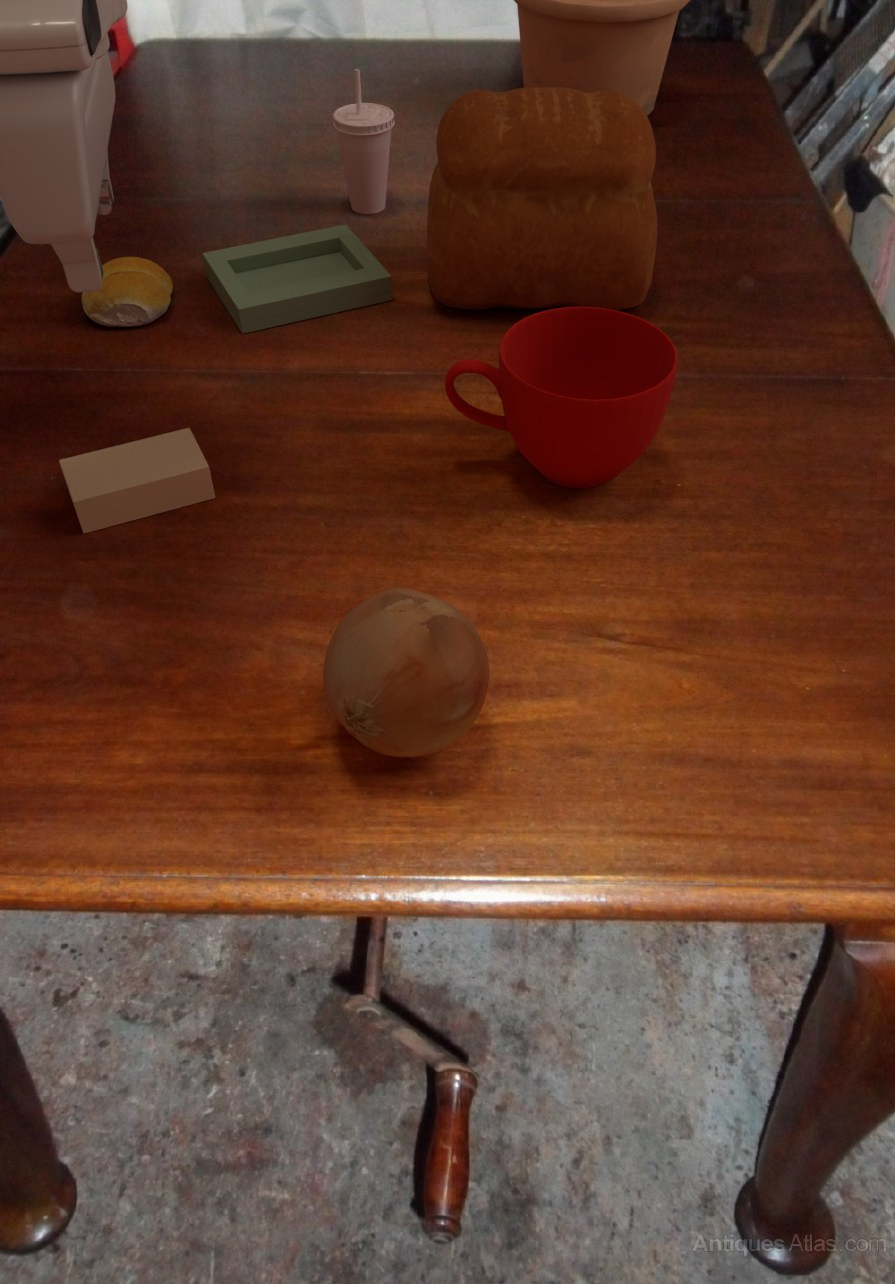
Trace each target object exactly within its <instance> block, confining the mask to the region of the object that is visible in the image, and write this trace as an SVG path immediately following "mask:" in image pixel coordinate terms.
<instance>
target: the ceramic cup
mask: <svg viewBox="0 0 895 1284" xmlns="http://www.w3.org/2000/svg"><path fill="white" fill-rule="evenodd" d="M678 363H679V362H678V352H677V349H676V346H675V345H674V343H673V341H671V339H670V338H669V337H668V336H667V334H666V333H665V332H664V331H662V329H660V328H658V326H656V325H654V324H652V323H651V322H649V321H647V320H646V319H643V318H641V317H639V316H636V315H633V314H631V313H628V312H623V311H620V310H611V309H605V308H598V307H583V306H582V307H576V306H563V307H558V308H557V307H556V308H551V309H547V310H542V311H539V312H536V313H534V314H531V315H528V316H526V317H524V318H522V319H521V320H519V321H517V322H516V323H514V324H513V325H512V326H511V327H510V328H509V329H507V331H506V332H505V334H504V335H503V337H502V339H501V340H500V345H499V350H498V367H496V366H494V365H492V364H490V363H488V362H485V361H482V360H478V359H469V358H467V359H462V360H459V361H456V362H454V363H453V364H452V365H451V366H450V367H449V368H448V371H447V372H446V374H445V378H444V390H445V394H446V396H447V398H448V400H449V402H450V403H451V405H452V406H453V407H454V408H455V410H457V411H458V412H459V413H460V414H462V415H463V416H464V417H466V418H468V419H469V420H472V421H474V422H477V423H478V424H481V425H484V426H487V427H491V428H494V429H497V430H501V431H505V432H509V435H510V436H511V438H512V440H513V442H514V444H515V447H517V449H518V451H519V452H520V453H521V455H522V456H523V457H524V458H525V459H526V461H528V463H529V464H530V465H531V466H532V467H533V468H535V470H537V471H538V473H539V474H540V475H541V476H542V477H544V478H545V479H546V480H547V481H550V482H551V483H554V484H556V485H559V486H561V487H566V488H571V489H589V488H594V487H597V486H601V485H604V484H606V483H607V482H609V481H611V480H612V479H614V478H615V477H616V476H618V475H620V474H621V473H623V472H624V471H626V470H627V469H628V468H629V467H630V466H632V465H633V464H634V463H635V462H636V461H637V460H639V459H640V457H641V456H642V455H643V454H644V453H645V451H646V450H647V449H648V448H649V446H650V445H651V443H652V442H653V440H655V437H656V435H657V433H658V432H659V429H660V428H661V426H662V423H663V420H664V417H665V414H666V412H667V408H668V406H669V402H670V400H671V396H672V392H673V389H674V386H675V381H676V377H677V374H678V373H677V371H678V365H679V364H678ZM463 374H477V375H481V376H483V377H485V378H486V379H487V380H489V381H490V383H492V384H493V386H494V387H495V389H496V392H497V395H498V397H499V399H500V400H501V406H502V411H503V415H501V414H495V413H493V412H492V413H491V412H489V411H485V410H483V409H481V408H478V407H477V406H474V405H472V404H470V403H468V402H467V401H466V400H465V399H463V398H462V396H461V395H460V394H459V392H458V391H457V390H456V387H455V380H456V378H457V377H459V376H460V375H463Z"/></svg>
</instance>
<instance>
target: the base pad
mask: <svg viewBox="0 0 895 1284" xmlns="http://www.w3.org/2000/svg"><path fill="white" fill-rule="evenodd" d="M202 261H203V265H204V271H205V276H206V279H207V280H208V282H209V283H210V285H211V287H213V290H214V291H215V293H216V295H217V296H218V298H219V299H220V301H221V302H222V304H223V306H224V308H225V309H226V310H227V312H228V314H229V315H230V316H231V318H232V320H233V321H234V323H235V324H236V325H235V326H237V328H238V329H239V331H240V333H241V334H243V335H244V334H249V333H254V332H258V331H262V330H267V329H270V328H274V327H279V326H284V325H289V324H293V323H297V322H301V321H306V320H310V319H314V318H318V317H323V316H328V315H332V314H337V313H341V312H345V311H350V310H354V309H359V308H363V307H368V306H372V305H376V304H381V303H385V302H391V301H392V300H393V281H392V279H393V278H392V277H393V276H392V275H391V273H389V272H388V271H389V270H387V268H385V267H384V265H382V263H381V262H380V261H379V260H378V259H377V258H376V256H374V254H373V252H371V251H370V250H369V249H368V248H367V246H366V245H365V244H364V243H363V241H361V239H360V238H359V237H358V236H357V235H356V234H355V233H354V231H352V229H351V228H350V227H349V226H348V225H347V224H341V225H335V226H330V227H325V228H320V229H316V230H310V231H306V232H300V233H296V234H291V235H286V236H281V237H275V238H270V239H266V240H260V241H256V242H250V243H246V244H241V245H237V246H230V247H226V248H221V249H216V250H211V251H210V250H209V251H206V252H202Z"/></svg>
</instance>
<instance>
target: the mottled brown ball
mask: <svg viewBox="0 0 895 1284" xmlns="http://www.w3.org/2000/svg"><path fill="white" fill-rule="evenodd" d="M478 632H479V631H478V630H477V629H476V628H475V626H474V625H473V624H472V623H471V621H470V620H469V619H468V617H467V616H466V615H465V614H464V613H463V612H462V611H460V610H459V609H458V608H457V607H455V606H454V605H452V604H450V603H448V602H447V601H445V600H443V599H440V598H439V597H437V596H434V595H431V594H428V593H425V592H423V591H420V590H416V589H413V588H405V587H392V588H391V587H390V588H387V589H385V590H382V591H380V592H378V593H375V594H374V595H372V596H370V597H368V598H367V599H365V600H363V601H362V602H360V603H358V604H357V605H356V606H354V607H353V608H352V609H350V610H349V611H348V612H347V613H346V614H345V615H344V617H343V618H342V619H341V621H340V622H339V623H338V625H337V627H336V628H335V630H334V631H333V634H332V636H331V638H330V641H329V643H328V645H327V649H326V651H325V654H324V655H325V656H324V662H323V669H322V680H323V687H324V688H323V689H324V694H325V698H326V701H327V703H328V706H329V708H330V710H331V712H332V714H333V715H334V716H335V718H336V719H337V721H338V722H339V723H340V724H341V725H342V727H343V728H344V729H345V730H346V732H347V733H348V734H349V735H351V736H352V737H353V738H355V739H356V740H357V741H358V742H359V743H360V744H362V746H365V747H366V748H368V749H370V750H371V751H373V752H375V753H377V754H381V755H385V756H389V757H397V758H416V757H417V758H419V757H423V756H427V755H433V754H437V753H439V752H442V751H444V750H446V749H448V748H449V747H452V746H453V745H455V744H456V743H458V742H459V741H460V740H461V739H462V738H463V737H464V736H465V735H466V734H467V733H468V732H469V730H471V728H472V726H473V724H474V723H475V721H476V719H477V718H478V716H479V715H480V713H481V711H482V709H483V706H484V703H485V701H486V697H487V692H488V687H489V682H490V662H489V661H490V660H489V657H488V653H487V649H486V647H485V645H484V643H483V641H482V639H481V636H480V634H479V633H478Z"/></svg>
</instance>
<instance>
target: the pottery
mask: <svg viewBox="0 0 895 1284" xmlns="http://www.w3.org/2000/svg"><path fill="white" fill-rule="evenodd" d="M513 2H514V3H515V4H516V6H517V17H518V19H517V20H518V30H519V44H520V45H519V46H520V57H521V58H520V59H521V70H522V83H523V84H522V85H523V88H527V87H563V88H570V89H575V90H579V91H582V92H585V93H589V92H595V91H600V90H614V91H617V92H621V93H623V94H625V95H627V96H629V97H630V98H631V99H633V100H634V101H635V102H636V103H637V104H638V105H639V106H640V108H641V109H642V110H643V111H644V112H645V114H646V115H647V117H648V116H649V115H650V114H651V113H652V112H653V111H654V110H655V105H656V100H657V96H658V93H659V89H660V85H661V81H662V78H663V73H664V70H665V67H666V63H667V59H668V55H669V53H670V52H669V51H670V47H671V44H672V39H673V36H674V32H675V28H676V24H677V22H678V17H679V14H680V11H681V10H682V9H683V8H684V7H686V6H687V5H688V3H690V2H691V0H513Z"/></svg>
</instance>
